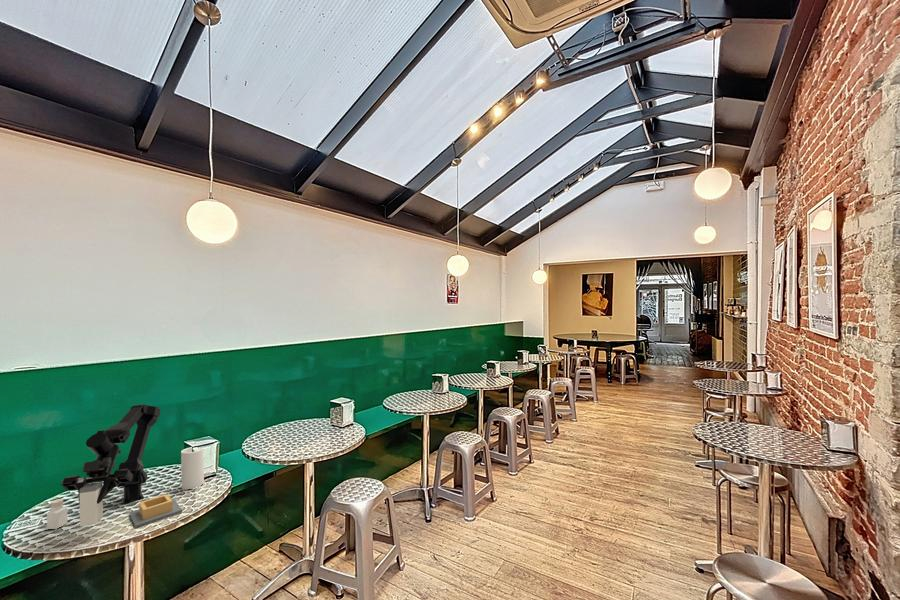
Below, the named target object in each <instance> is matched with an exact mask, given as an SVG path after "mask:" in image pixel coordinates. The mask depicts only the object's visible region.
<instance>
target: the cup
mask: <svg viewBox="0 0 900 600" xmlns="http://www.w3.org/2000/svg"><path fill="white" fill-rule="evenodd" d="M192 447H193V446H191V447H190V446H189V447H187V448H184V449H182V450H181V452H180V457H181V458H180V463H181V464H180V467H181V469H180V470H181V471H180V472H181V473H180V477H181V490H182V489H185V490H184V491H187V490H186V489H192V490H194V489H193V488H196V487H199V486H201V485H202V484H203V485H204V484H205V465H204V463H205V461H204V446H202V449H200V450H198V451H194V452H192ZM203 485H202V486H203ZM202 486H201V487H202ZM199 488H200V487H199ZM196 489H197V488H196Z"/></svg>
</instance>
